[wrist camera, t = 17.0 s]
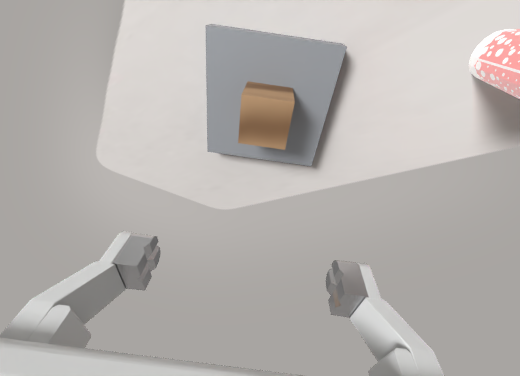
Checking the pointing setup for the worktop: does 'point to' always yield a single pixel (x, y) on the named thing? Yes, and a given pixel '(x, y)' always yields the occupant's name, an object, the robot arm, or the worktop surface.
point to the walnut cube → (265, 115)
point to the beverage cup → (499, 61)
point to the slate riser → (274, 73)
